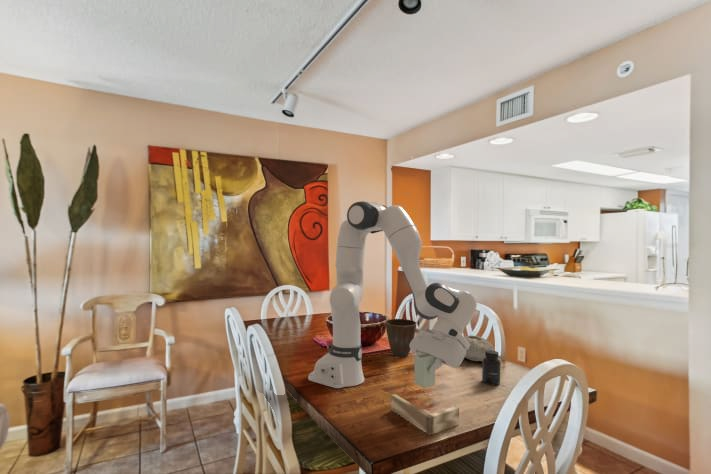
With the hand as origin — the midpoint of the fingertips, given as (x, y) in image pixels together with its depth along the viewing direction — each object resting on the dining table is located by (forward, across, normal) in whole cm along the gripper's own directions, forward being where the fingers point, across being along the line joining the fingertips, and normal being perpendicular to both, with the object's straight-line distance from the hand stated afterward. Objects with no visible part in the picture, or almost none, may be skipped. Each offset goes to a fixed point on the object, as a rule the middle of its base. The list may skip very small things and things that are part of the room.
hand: (423, 369), depth 117 cm
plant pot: (-13, -52, +34) cm, 64 cm away
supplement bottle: (-19, -8, +41) cm, 46 cm away
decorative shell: (-31, -31, +53) cm, 69 cm away
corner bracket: (+10, 0, +11) cm, 15 cm away
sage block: (+3, 0, +4) cm, 5 cm away
